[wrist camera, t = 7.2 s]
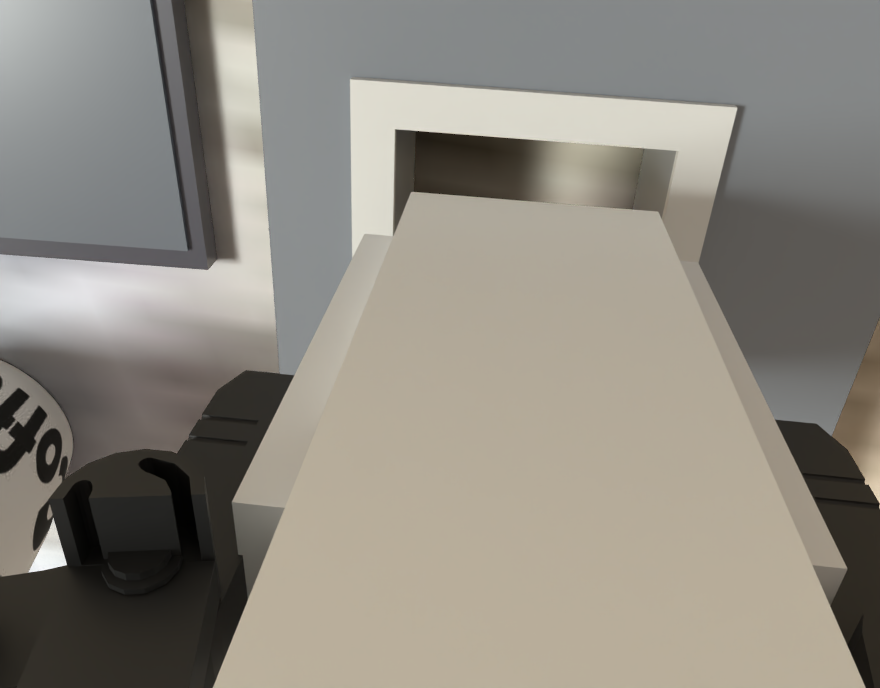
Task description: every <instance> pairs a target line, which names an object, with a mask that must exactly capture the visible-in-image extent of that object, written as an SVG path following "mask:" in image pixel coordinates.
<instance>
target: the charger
mask: <svg viewBox="0 0 880 688" xmlns="http://www.w3.org/2000/svg"><path fill="white" fill-rule="evenodd" d="M213 688H866V687H865V685H864V683H863V680H862V678H861V676H860V674H859V671H858V669H857V667H856V664H855V662H854V660H853V657H852V655H851V653H850V651H849V648H848V646H847V644H846V641H845V639H844V637H843V635H842V632H841V630H840V628H839V625H838V623H837V621H836V618H835V616H834V614H833V612H832V609H831V607H830V605H829V602H828V600H827V598H826V595H825V593H824V591H823V589H822V586H821V584H820V582H819V579H818V577H817V575H816V573H815V570H814V568H813V566H812V563H811V561H810V559H809V556H808V554H807V552H806V550H805V547H804V545H803V543H802V540H801V538H800V536H799V534H798V531H797V529H796V527H795V524H794V522H793V520H792V517H791V515H790V513H789V511H788V508H787V506H786V504H785V501H784V499H783V497H782V494H781V492H780V490H779V488H778V485H777V483H776V481H775V478H774V476H773V474H772V472H771V469H770V467H769V465H768V462H767V460H766V458H765V455H764V453H763V451H762V449H761V446H760V444H759V442H758V439H757V437H756V435H755V432H754V430H753V428H752V426H751V423H750V421H749V419H748V416H747V414H746V412H745V410H744V407H743V405H742V403H741V400H740V398H739V396H738V393H737V391H736V389H735V387H734V384H733V382H732V380H731V377H730V375H729V373H728V371H727V368H726V366H725V364H724V361H723V359H722V357H721V354H720V352H719V350H718V348H717V345H716V343H715V341H714V338H713V336H712V334H711V331H710V329H709V327H708V325H707V322H706V320H705V318H704V315H703V313H702V311H701V309H700V306H699V304H698V302H697V299H696V297H695V295H694V292H693V290H692V288H691V286H690V283H689V281H688V279H687V276H686V274H685V272H684V269H683V267H682V265H681V263H680V260H679V258H678V256H677V253H676V251H675V249H674V247H673V244H672V242H671V240H670V237H669V235H668V233H667V230H666V228H665V226H664V224H663V221H662V219H661V217H660V214H659V212H657V211H644V210H632V209H619V208H607V207H595V206H582V205H570V204H557V203H545V202H532V201H520V200H507V199H495V198H482V197H470V196H458V195H445V194H433V193H420V192H411V194H410V196H409V199H408V201H407V204H406V206H405V209H404V211H403V214H402V216H401V219H400V221H399V224H398V226H397V229H396V231H395V234H394V236H393V239H392V241H391V244H390V246H389V249H388V251H387V254H386V256H385V259H384V261H383V264H382V266H381V269H380V271H379V274H378V276H377V279H376V281H375V284H374V286H373V289H372V291H371V294H370V296H369V299H368V301H367V304H366V306H365V309H364V311H363V314H362V316H361V319H360V321H359V324H358V326H357V329H356V331H355V334H354V336H353V339H352V341H351V344H350V346H349V349H348V351H347V354H346V356H345V359H344V361H343V364H342V366H341V369H340V371H339V374H338V376H337V379H336V381H335V384H334V386H333V389H332V391H331V394H330V396H329V399H328V401H327V404H326V406H325V409H324V411H323V414H322V416H321V419H320V421H319V424H318V426H317V429H316V431H315V434H314V436H313V439H312V441H311V444H310V446H309V449H308V451H307V454H306V456H305V459H304V461H303V464H302V466H301V469H300V471H299V474H298V476H297V479H296V481H295V484H294V486H293V489H292V491H291V494H290V496H289V499H288V501H287V503H286V506H285V509H284V511H283V514H282V516H281V518H280V521H279V524H278V526H277V529H276V531H275V533H274V536H273V539H272V541H271V544H270V546H269V548H268V551H267V553H266V556H265V559H264V561H263V563H262V566H261V568H260V571H259V574H258V576H257V578H256V581H255V583H254V586H253V589H252V591H251V593H250V596H249V598H248V601H247V604H246V606H245V608H244V611H243V613H242V616H241V618H240V621H239V623H238V626H237V628H236V631H235V633H234V636H233V639H232V641H231V643H230V646H229V648H228V651H227V654H226V656H225V658H224V661H223V663H222V666H221V668H220V671H219V673H218V676H217V678H216V681H215V683H214V686H213Z"/></svg>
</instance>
